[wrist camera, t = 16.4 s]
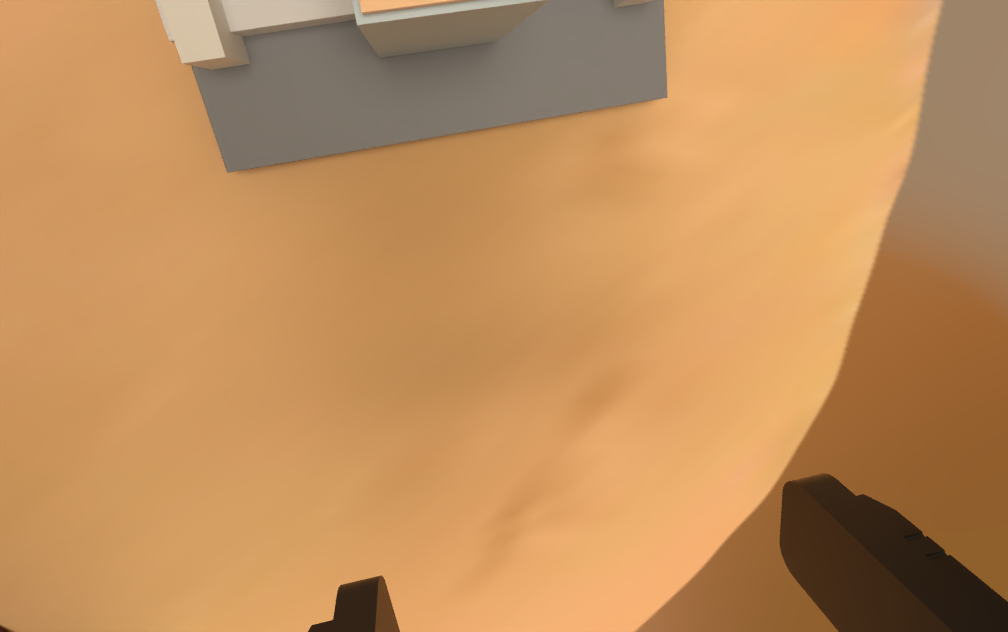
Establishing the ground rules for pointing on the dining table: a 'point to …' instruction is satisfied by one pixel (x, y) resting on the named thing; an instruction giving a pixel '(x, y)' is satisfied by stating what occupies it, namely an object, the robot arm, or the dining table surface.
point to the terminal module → (437, 23)
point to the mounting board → (402, 74)
